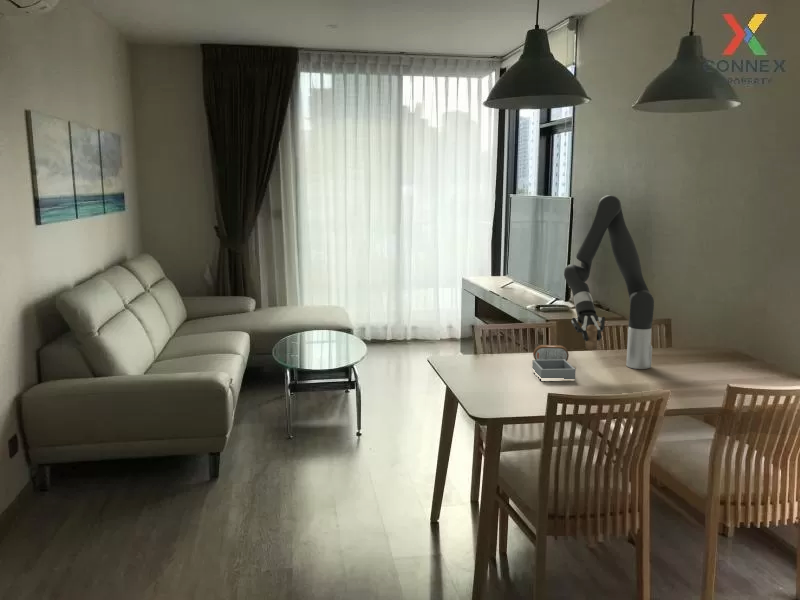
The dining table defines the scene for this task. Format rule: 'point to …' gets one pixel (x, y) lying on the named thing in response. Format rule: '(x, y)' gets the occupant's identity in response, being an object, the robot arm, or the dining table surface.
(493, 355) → the dining table surface
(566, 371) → the bin
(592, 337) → the pepper mill
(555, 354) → the tin
